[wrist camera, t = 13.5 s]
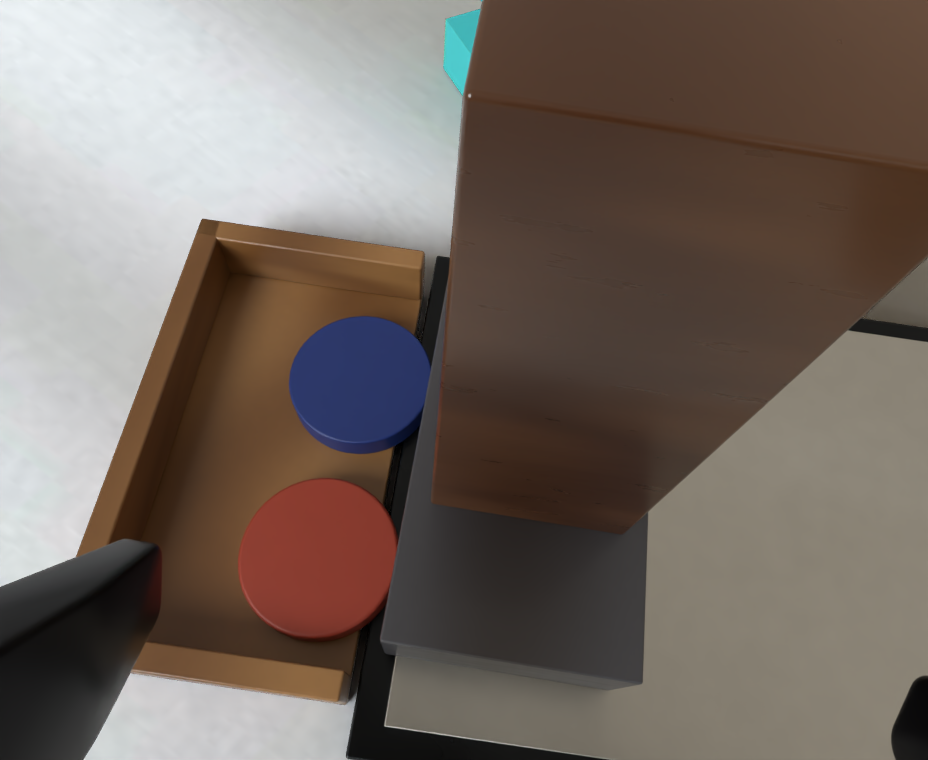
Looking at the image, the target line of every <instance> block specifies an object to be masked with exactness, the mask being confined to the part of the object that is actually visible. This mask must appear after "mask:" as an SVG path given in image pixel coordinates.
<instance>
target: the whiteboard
mask: <svg viewBox="0 0 928 760" xmlns="http://www.w3.org/2000/svg"><path fill="white" fill-rule="evenodd" d="M449 263H450V258H448V257H442V256H437V258H436V263H435V269H434V274H433V280H432V285H431V291H430V296H429V302H428V307H427V313H426V318H425V324H424V329H423V335H422V340H421V344H422V346H423V347H424V349H425V351H426V353H427V355H428V357H429V360H430V363H431V366H432V361H433V355H434V350H435V345H436V339H437V334H438V329H439V323H440V318H441V313H442V308H443V302H444V297H445V292H446V286H447V281H448V276H449ZM419 429H420V425H419V427H418V428H417V429H416V430H415V431H414V432H413V433H412V434H411V435H410V436H409V437H408V438H406V439H405V440H404V441H403V444H402V450H401V455H400V461H399V466H398V472H397V477H396V483H395V488H394V494H393V499H392V505H391V510H390V516H391V518H392V520H393V522H394V525H395V528H396V531H397V535H398V540H399V535H400V530H401V524H402V519H403V514H404V509H405V503H406V498H407V493H408V487H409V482H410V477H411V472H412V466H413V461H414V456H415V450H416V445H417V440H418V435H419ZM386 604H387V603H386ZM385 609H386V605H385V606H384V608H383V609H382V610H381V611H380V613H379V614H378V615H377V616H376V617H375V618H374V619H373V620H372V621H371V622H370V626H369V631H368V637H367V642H366V648H365V653H364V659H363V664H362V670H361V675H360V681H359V686H358V691H357V697H356V702H355V708H354V713H353V719H352V724H351V730H350V735H349V741H348V746H347V752H346V758H347V759H351V760H895V757H894V754H893V751H892V745H891V733H892V728H893V725H894V723H895V720H896V718H897V716H898V714H899V711H900V709H901V707H902V705H903V702H904V700H905V698H906V696H907V693H908V691H909V689H910V687H911V685H912V683H913V681H914V680H916V679H917V678H918V677H920V676H924V675H927V676H928V328H923V327H916V326H909V325H902V324H896V323H889V322H882V321H875V320H869V319H862V318H861V319H860V320H858V321H857V322H856V323H855V324H854V325H853V326H852V327H851V328H850V329H849V330H847V331H846V332H845V333H844V334H843V335H842V336H841V337H840V338H839V339H838V340H836V341H835V342H834V343H833V344H832V345H831V346H830V347H829V348H828V349H827V350H825V351H824V352H823V353H822V354H821V355H820V356H819V357H818V358H817V359H816V360H814V361H813V362H812V363H811V364H810V365H809V366H808V367H807V368H806V369H805V370H803V371H802V372H801V373H800V374H799V375H798V376H797V377H796V378H795V379H794V380H793V381H791V382H790V383H789V384H788V385H787V386H786V387H785V388H784V389H783V390H782V391H780V392H779V393H778V394H777V395H776V396H775V397H774V398H773V399H772V400H771V401H769V402H768V403H767V404H766V405H765V406H764V407H763V408H762V409H761V410H760V411H758V412H757V413H756V414H755V415H754V416H753V417H752V418H751V419H750V420H749V421H747V422H746V423H745V424H744V425H743V426H742V427H741V428H740V429H739V430H738V431H736V432H735V433H734V434H733V435H732V436H731V437H730V438H729V439H728V440H727V441H725V442H724V443H723V444H722V445H721V446H720V447H719V448H718V449H717V450H716V451H715V452H713V453H712V454H711V455H710V456H709V457H708V458H707V459H706V460H705V461H704V462H702V463H701V464H700V465H699V466H698V467H697V468H696V469H695V470H694V471H693V472H691V473H690V474H689V475H688V476H687V477H686V478H685V479H684V480H683V481H682V482H680V483H679V484H678V485H677V486H676V487H675V488H674V489H673V490H672V491H671V492H669V493H668V494H667V495H666V496H665V497H664V498H663V499H662V500H661V501H660V502H658V503H657V504H656V505H655V506H654V507H653V508H652V509H651V510H650V511H649V512H648V541H647V571H646V602H645V633H644V663H643V683H642V684H641V685H635V686H630V687H624V688H619V689H614V690H603V689H596V688H590V687H584V686H578V685H572V684H566V683H560V682H554V681H548V680H542V679H535V678H529V677H523V676H517V675H511V674H505V673H499V672H493V671H487V670H481V669H474V668H468V667H462V666H456V665H450V664H444V663H438V662H432V661H426V660H420V659H413V658H407V657H401V656H395V655H389V654H386V653H385V652H384V650H383V647H382V644H381V642H380V635H381V630H382V625H383V620H384V614H385Z"/></svg>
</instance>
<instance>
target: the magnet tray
mask: <svg viewBox="0 0 928 760" xmlns="http://www.w3.org/2000/svg"><path fill="white" fill-rule="evenodd" d="M424 271H425V253H424V252H423V251H418V250H412V249H405V248H398V247H391V246H385V245H378V244H371V243H364V242H357V241H351V240H344V239H337V238H330V237H324V236H317V235H310V234H303V233H296V232H290V231H283V230H276V229H269V228H263V227H256V226H249V225H242V224H236V223H229V222H222V221H215V220H208V219H202V220H201V222H200V225H199V228H198V230H197V233H196V236H195V238H194V241H193V244H192V246H191V249H190V252H189V254H188V257H187V260H186V263H185V265H184V268H183V271H182V273H181V276H180V279H179V281H178V284H177V287H176V289H175V292H174V295H173V297H172V300H171V303H170V306H169V308H168V311H167V314H166V316H165V319H164V322H163V324H162V327H161V330H160V332H159V335H158V338H157V340H156V343H155V346H154V348H153V351H152V354H151V357H150V359H149V362H148V365H147V367H146V370H145V373H144V375H143V378H142V381H141V383H140V386H139V389H138V391H137V394H136V397H135V400H134V402H133V405H132V408H131V410H130V413H129V416H128V418H127V421H126V424H125V426H124V429H123V432H122V434H121V437H120V440H119V443H118V445H117V448H116V451H115V453H114V456H113V459H112V461H111V464H110V467H109V469H108V472H107V475H106V477H105V480H104V483H103V486H102V488H101V491H100V494H99V496H98V499H97V502H96V504H95V507H94V510H93V512H92V515H91V518H90V520H89V523H88V526H87V529H86V531H85V534H84V537H83V539H82V542H81V545H80V547H79V550H78V553H77V555H76V557H78V556H81V555H83V554H86V553H88V552H91V551H93V550H96V549H99V548H101V547H104V546H106V545H109V544H111V543H114V542H116V541H119V540H122V539H134V540H140V541H146V542H151V543H156V544H157V545H158V546H159V547H160V548H161V552H162V596H161V608H160V612H159V616H158V619H157V621H156V624H155V626H154V628H153V630H152V632H151V633H150V635H149V637H148V639H147V641H146V643H145V645H144V647H143V649H142V651H141V653H140V655H139V657H138V659H137V661H136V663H135V665H134V667H133V669H132V671H131V673H132V674H139V675H146V676H153V677H160V678H166V679H173V680H180V681H187V682H194V683H200V684H207V685H214V686H221V687H227V688H234V689H241V690H248V691H255V692H261V693H268V694H275V695H282V696H288V697H295V698H302V699H309V700H316V701H322V702H329V703H336V704H343V705H346V704H347V702H348V697H349V692H350V686H351V681H352V676H353V670H354V665H355V660H356V654H357V649H358V643H359V638H360V633H361V629H359V630H358V631H356V632H354V633H353V634H350V635H348V636H345V637H343V638H339V639H336V640H332V641H325V642H308V641H301V640H297V639H294V638H290V637H288V636H286V635H284V634H282V633H280V632H278V631H277V630H275V629H273V628H272V627H270V626H269V625H267V624H266V623H265V622H264V621H263V620H261V619H260V618H259V617H258V616H257V615H256V613H255V612H254V611H253V610H252V608H251V607H250V605H249V604H248V602H247V600H246V598H245V596H244V594H243V591H242V588H241V584H240V581H239V574H238V556H239V549H240V545H241V541H242V538H243V535H244V533H245V531H246V528H247V526H248V525H249V523H250V521H251V519H252V518H253V516H254V515H255V514H256V512H257V511H258V510H259V509H260V508H261V506H262V505H263V504H264V503H265V502H266V501H268V500H269V499H270V498H271V497H272V496H273V495H275V494H276V493H278V492H279V491H281V490H283V489H285V488H287V487H288V486H290V485H293V484H295V483H298V482H301V481H305V480H309V479H316V478H335V479H341V480H345V481H349V482H352V483H354V484H356V485H359V486H361V487H362V488H364V489H366V490H368V491H369V492H370V493H371V494H373V495H374V496H375V497H376V498H377V499H378V500H379V501H380V502H381V503H382V504H383V505H384V504H385V499H386V493H387V488H388V483H389V477H390V472H391V467H392V461H393V456H394V451H395V446H393V447H391V448H388V449H386V450H383V451H379V452H375V453H368V454H352V453H345V452H341V451H337V450H335V449H332V448H330V447H328V446H326V445H324V444H322V443H321V442H319V441H318V440H316V439H315V438H314V437H313V436H312V435H311V434H310V433H309V432H308V431H307V430H306V429H305V427H304V426H303V424H302V423H301V421H300V419H299V417H298V415H297V412H296V410H295V408H294V405H293V403H292V400H291V396H290V392H289V375H290V370H291V366H292V364H293V361H294V358H295V356H296V355H297V353H298V351H299V349H300V348H301V347H302V345H303V344H304V343H305V342H306V341H307V340H308V338H309V337H311V336H312V335H313V334H314V333H315V332H317V331H318V330H320V329H321V328H323V327H324V326H326V325H328V324H330V323H332V322H335V321H338V320H341V319H345V318H349V317H356V316H371V317H378V318H383V319H386V320H389V321H392V322H394V323H397V324H399V325H401V326H402V327H404V328H405V329H407V330H408V331H409V332H411V333H412V334H413V335H414V336H415V337H416V333H417V327H418V322H419V317H420V311H421V306H422V301H423V295H424Z"/></svg>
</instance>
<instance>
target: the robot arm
mask: <svg viewBox="0 0 928 760" xmlns="http://www.w3.org/2000/svg"><path fill="white" fill-rule="evenodd" d="M161 596H162V552H161V548H160V547H159V546H158V545H157V544H156V543H151V542H146V541H140V540H134V539H122V540H119V541H116V542H114V543H111V544H109V545H106V546H104V547H101V548H99V549H96V550H93V551H91V552H88V553H86V554H83V555H81V556H78V557H76V558H73V559H70V560H68V561H65V562H63V563H60V564H58V565H55V566H53V567H50V568H47V569H45V570H42V571H40V572H37V573H35V574H32V575H30V576H27V577H24V578H22V579H19V580H17V581H14V582H12V583H9V584H6V585H4V586H1V587H0V760H83V759H84V758H85V756H86V755H87V753H88V751H89V750H90V748H91V746H92V745H93V743H94V742H95V740H96V738H97V736H98V734H99V732H100V731H101V729H102V727H103V725H104V723H105V721H106V719H107V718H108V716H109V714H110V712H111V710H112V708H113V706H114V704H115V702H116V700H117V698H118V696H119V694H120V692H121V690H122V688H123V686H124V684H125V682H126V680H127V678H128V676H129V675H130V673H131V671H132V669H133V667H134V665H135V663H136V661H137V659H138V657H139V655H140V653H141V651H142V649H143V647H144V645H145V643H146V641H147V639H148V637H149V635H150V633H151V632H152V630H153V628H154V626H155V624H156V621H157V619H158V616H159V612H160V608H161ZM891 745H892V751H893V754H894V757H895V760H928V676H927V675H924V676H920V677H918V678H917V679H916V680H914V681H913V683H912V685H911V687H910V689H909V691H908V693H907V696H906V698H905V700H904V702H903V705H902V707H901V709H900V711H899V714H898V716H897V718H896V720H895V723H894V725H893V728H892V733H891Z"/></svg>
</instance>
